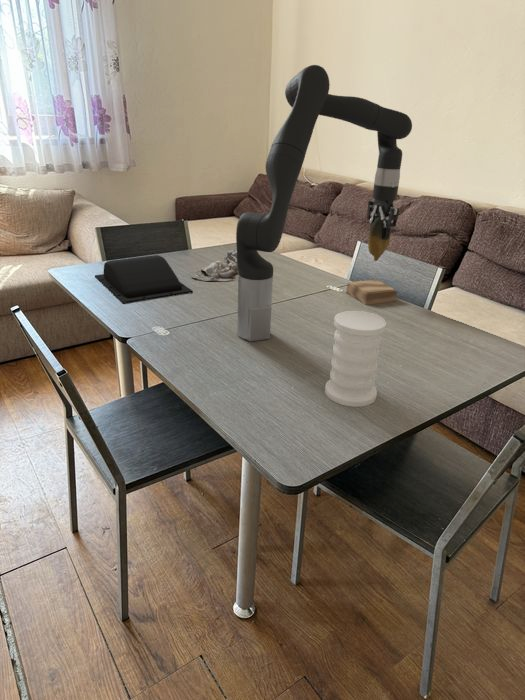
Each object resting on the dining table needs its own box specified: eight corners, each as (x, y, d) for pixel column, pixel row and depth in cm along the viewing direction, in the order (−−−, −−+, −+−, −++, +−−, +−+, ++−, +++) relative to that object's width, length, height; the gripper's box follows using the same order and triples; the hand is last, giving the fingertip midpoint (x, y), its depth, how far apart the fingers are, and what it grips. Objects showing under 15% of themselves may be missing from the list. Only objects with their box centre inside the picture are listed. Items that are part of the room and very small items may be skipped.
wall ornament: (275, 252, 192) (205, 253, 175) (274, 279, 195) (205, 283, 178) (247, 248, 207) (180, 248, 190) (246, 273, 210) (180, 276, 193)
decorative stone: (376, 257, 175) (383, 212, 169) (391, 261, 171) (398, 215, 164) (359, 261, 169) (364, 215, 163) (373, 265, 165) (380, 218, 159)
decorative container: (374, 410, 110) (386, 334, 102) (320, 401, 112) (328, 326, 105) (378, 385, 120) (389, 314, 112) (329, 377, 123) (336, 307, 115)
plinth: (395, 301, 173) (397, 289, 171) (365, 304, 168) (366, 293, 167) (375, 289, 183) (376, 278, 181) (346, 292, 178) (347, 281, 177)
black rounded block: (95, 278, 183) (123, 305, 161) (92, 255, 179) (120, 279, 157) (158, 269, 195) (192, 294, 173) (157, 247, 191) (192, 269, 169)
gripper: (363, 180, 164) (357, 232, 171) (390, 187, 152) (381, 243, 159) (383, 180, 166) (375, 231, 174) (410, 186, 155) (401, 241, 162)
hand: (378, 236), depth 166 cm, fingers closed on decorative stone, 6 cm apart
